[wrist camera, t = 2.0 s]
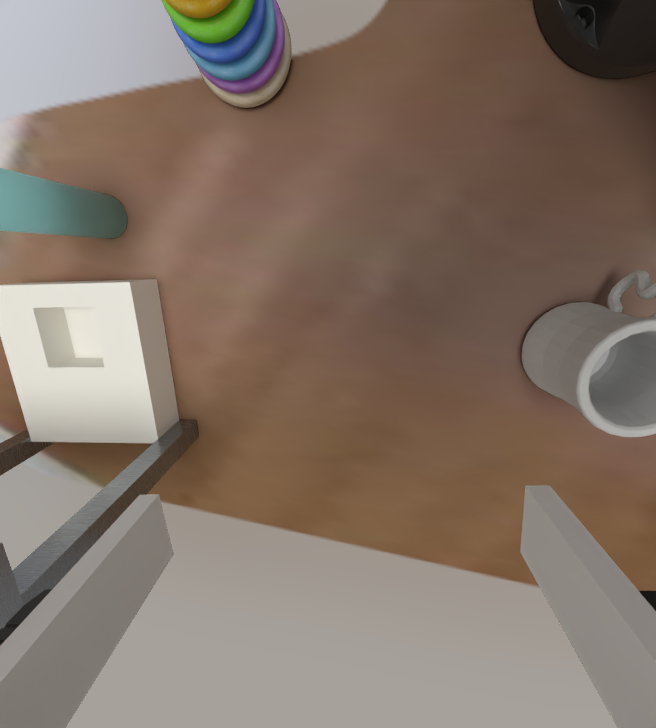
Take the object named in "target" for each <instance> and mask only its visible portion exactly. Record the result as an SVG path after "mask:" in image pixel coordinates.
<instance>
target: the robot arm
mask: <svg viewBox="0 0 656 728" xmlns="http://www.w3.org/2000/svg"><path fill="white" fill-rule="evenodd" d="M534 5H535V11H536V14H537V18H538V21H539V24H540V27H541V29H542V31H543V34H544V36H545V37H546V39H547V41H548V43H549V44H550V46H551V47H552V48H553V50H554V51H555V52H556V53H557V54H558V55H559V56H560V57H561V58H562V59H563V60H564V61H565V62H566V63H568V64H569V65H571V66H572V67H574V68H575V69H577V70H579V71H581V72H584V73H586V74H589V75H592V76H596V77H602V78H628V77H633V76H638V75H642V74H645V73H648V72H651V71H653V70H656V0H534ZM520 552H521V554H522V556H523V558H524V560H525V561H526V563H527V565H528V567H529V569H530V570H531V572H532V574H533V576H534V578H535V579H536V581H537V583H538V585H539V587H540V588H541V590H542V592H543V594H544V596H545V597H546V599H547V601H548V603H549V605H550V606H551V608H552V610H553V612H554V614H555V616H556V617H557V619H558V621H559V623H560V624H561V626H562V628H563V630H564V632H565V634H566V635H567V637H568V639H569V640H570V643H571V645H572V646H573V648H574V650H575V652H576V653H577V655H578V657H579V659H580V661H581V663H582V664H583V666H584V668H585V670H586V672H587V673H588V675H589V677H590V679H591V680H592V682H593V684H594V686H595V688H596V690H597V691H598V693H599V695H600V697H601V699H602V701H603V702H604V704H605V706H606V708H607V710H608V711H609V713H610V715H611V717H612V718H613V720H614V722H615V724H616V726H617V728H656V591H638V590H637V589H636V587H635V586H634V585H633V584H632V583H631V581H630V580H629V579H628V578H627V577H626V575H625V574H624V573H623V572H622V571H621V570H620V568H619V567H618V566H617V565H616V564H615V562H614V561H613V560H612V559H611V558H610V557H609V555H608V554H607V553H606V552H605V551H604V549H603V548H602V547H601V546H600V545H599V543H598V542H597V541H596V540H595V539H594V538H593V536H592V535H591V534H590V533H589V532H588V530H587V529H586V528H585V527H584V526H583V525H582V523H581V522H580V521H579V520H578V519H577V517H576V516H575V515H574V514H573V513H572V512H571V510H570V509H569V508H568V507H567V506H566V504H565V503H564V502H563V501H562V500H561V498H560V497H559V496H558V495H557V494H556V493H555V491H554V490H553V489H552V488H551V487H550V485H540V486H525V499H524V512H523V525H522V537H521V550H520ZM172 556H173V550H172V546H171V542H170V537H169V534H168V529H167V526H166V521H165V517H164V513H163V509H162V505H161V501H160V497H159V494H151V495H139V496H138V497H137V498H136V499H135V500H134V501H133V502H132V504H131V505H130V506H129V507H128V508H127V509H126V510H125V511H124V512H123V513H122V514H121V515H120V517H119V518H118V519H117V520H116V521H115V522H114V523H113V524H112V525H111V526H110V527H109V529H108V530H107V531H106V532H105V533H104V534H103V535H102V536H101V537H100V538H99V539H98V540H97V542H96V543H95V544H94V545H93V546H92V547H91V548H90V549H89V550H88V551H87V552H86V553H85V555H84V556H83V557H82V558H81V559H80V560H79V561H78V562H77V563H76V564H75V565H74V566H73V568H72V569H71V570H70V571H69V572H68V573H67V574H66V575H65V576H64V577H63V578H62V579H61V581H60V582H59V583H58V584H57V585H56V586H55V587H54V588H53V589H45V590H44V591H43V592H41V593H40V594H38V595H37V596H36V597H34V598H33V599H32V600H30V601H29V602H28V603H26V604H25V605H24V606H23V607H22V608H21V609H20V610H19V611H18V612H17V613H16V614H15V615H14V616H13V617H12V618H11V619H10V620H9V621H8V622H7V623H6V625H5V627H4V628H1V629H0V728H66V726H67V724H68V723H69V721H70V720H71V718H72V716H73V715H74V713H75V712H76V710H77V709H78V707H79V705H80V704H81V702H82V701H83V699H84V697H85V696H86V694H87V692H88V691H89V689H90V688H91V686H92V684H93V683H94V681H95V680H96V678H97V676H98V675H99V673H100V671H101V670H102V668H103V667H104V665H105V663H106V662H107V660H108V659H109V657H110V655H111V654H112V652H113V651H114V649H115V647H116V646H117V644H118V643H119V641H120V639H121V638H122V636H123V635H124V633H125V631H126V630H127V628H128V626H129V625H130V623H131V622H132V620H133V619H134V617H135V615H136V614H137V612H138V611H139V609H140V607H141V606H142V604H143V602H144V601H145V599H146V598H147V596H148V594H149V593H150V591H151V590H152V588H153V586H154V585H155V583H156V581H157V580H158V578H159V577H160V575H161V573H162V572H163V570H164V569H165V567H166V566H167V564H168V562H169V561H170V559H171V557H172Z"/></svg>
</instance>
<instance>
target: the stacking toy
mask: <svg viewBox="0 0 656 728" xmlns="http://www.w3.org/2000/svg"><path fill="white" fill-rule="evenodd" d="M162 2H163V4H164V7H165V9H166V10H167V12H168V14H169V16H170V18H171V21H172V23H173V26H174V28H175V30H176V32H177V33H178V35H179V37H180V38H181V40H182V41H183V43H184V45H185V47H186V49H187V51H188V53H189V54H190V56H191V57H192V59H193V60H194V61H195V63H196V64H197V66H198V68H199V70H200V73H201V75H202V77H203V79H204V80H205V82H206V84H207V85H208V86H209V88H210V89H211V90H212V91H213V92H214V93H215V94H216V95H217V96H218V97H219V98H220V99H222V100H223V101H225V102H227V103H229V104H231V105H234V106H237V107H243V108H247V107H255V106H258V105H261V104H263V103H265V102H267V101H268V100H270V99H271V98H272V97H273V96H274V95H275V94H276V93H277V92H278V91H279V89H280V88H281V86H282V85H283V83H284V81H285V79H286V76H287V74H288V71H289V67H290V62H291V39H290V34H289V29H288V26H287V24H286V21H285V18H284V17H283V15H282V13H281V11H280V8H279V6H278V3H277V1H276V0H162Z"/></svg>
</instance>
